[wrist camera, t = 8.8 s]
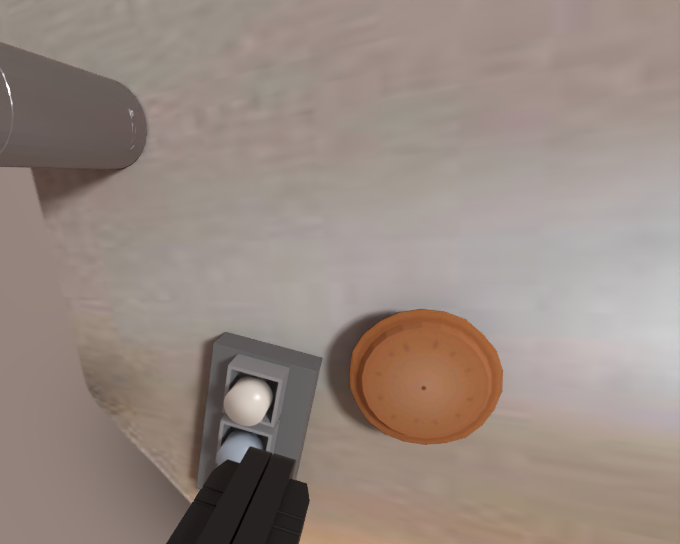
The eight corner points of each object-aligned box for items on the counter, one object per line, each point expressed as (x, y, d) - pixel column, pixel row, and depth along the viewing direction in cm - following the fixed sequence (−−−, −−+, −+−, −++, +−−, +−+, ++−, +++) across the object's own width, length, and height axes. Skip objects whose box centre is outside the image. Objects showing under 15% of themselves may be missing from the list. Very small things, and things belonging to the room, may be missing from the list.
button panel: (207, 470, 50) (185, 505, 44) (225, 332, 44) (202, 353, 38) (292, 496, 48) (279, 535, 43) (322, 357, 43) (311, 383, 37)
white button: (231, 405, 40) (221, 419, 38) (236, 370, 39) (226, 383, 37) (269, 416, 40) (261, 431, 37) (275, 381, 39) (267, 394, 36)
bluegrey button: (224, 456, 42) (214, 472, 40) (228, 424, 41) (218, 439, 39) (260, 467, 42) (252, 484, 39) (266, 435, 40) (258, 451, 38)
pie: (470, 279, 38) (480, 294, 33) (510, 406, 41) (525, 437, 36) (333, 320, 41) (324, 339, 37) (379, 435, 44) (376, 466, 39)
